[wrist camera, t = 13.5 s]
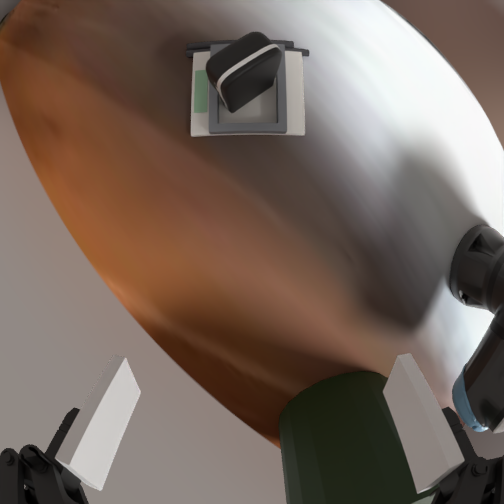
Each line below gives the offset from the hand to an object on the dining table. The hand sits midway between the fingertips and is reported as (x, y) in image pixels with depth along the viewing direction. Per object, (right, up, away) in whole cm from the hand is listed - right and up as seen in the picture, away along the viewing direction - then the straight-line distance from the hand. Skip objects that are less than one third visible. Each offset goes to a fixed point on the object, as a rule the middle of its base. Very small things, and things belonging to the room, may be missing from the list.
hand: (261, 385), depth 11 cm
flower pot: (+17, -27, +34) cm, 47 cm away
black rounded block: (-1, +26, +18) cm, 32 cm away
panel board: (-1, +27, +18) cm, 32 cm away
